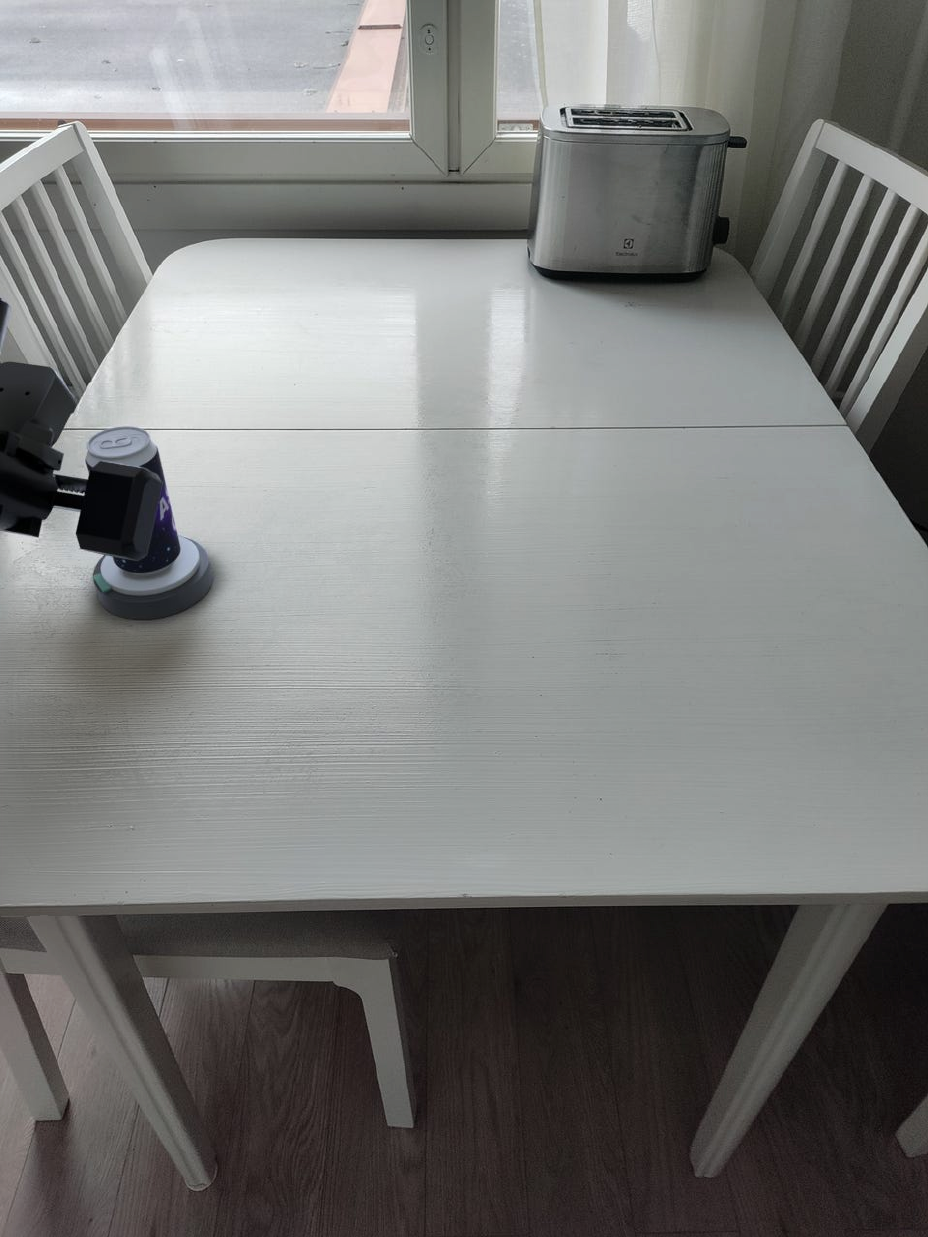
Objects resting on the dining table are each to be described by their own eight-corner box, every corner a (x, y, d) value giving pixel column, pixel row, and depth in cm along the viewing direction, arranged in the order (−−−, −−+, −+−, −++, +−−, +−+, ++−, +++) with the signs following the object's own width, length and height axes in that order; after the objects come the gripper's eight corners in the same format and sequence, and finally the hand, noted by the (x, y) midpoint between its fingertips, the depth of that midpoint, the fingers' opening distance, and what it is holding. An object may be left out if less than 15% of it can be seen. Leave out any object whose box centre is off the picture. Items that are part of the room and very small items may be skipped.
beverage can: (184, 575, 83) (156, 453, 75) (115, 586, 81) (79, 463, 74) (181, 538, 87) (154, 419, 79) (116, 548, 86) (82, 428, 78)
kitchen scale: (122, 635, 80) (115, 611, 79) (81, 576, 87) (74, 553, 85) (231, 591, 85) (227, 568, 83) (185, 538, 91) (180, 516, 90)
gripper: (116, 362, 59) (224, 437, 74) (-141, 328, 62) (13, 406, 77) (76, 539, 58) (194, 578, 73) (-182, 494, 61) (-19, 540, 77)
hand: (93, 520), depth 75 cm, fingers open, 9 cm apart
